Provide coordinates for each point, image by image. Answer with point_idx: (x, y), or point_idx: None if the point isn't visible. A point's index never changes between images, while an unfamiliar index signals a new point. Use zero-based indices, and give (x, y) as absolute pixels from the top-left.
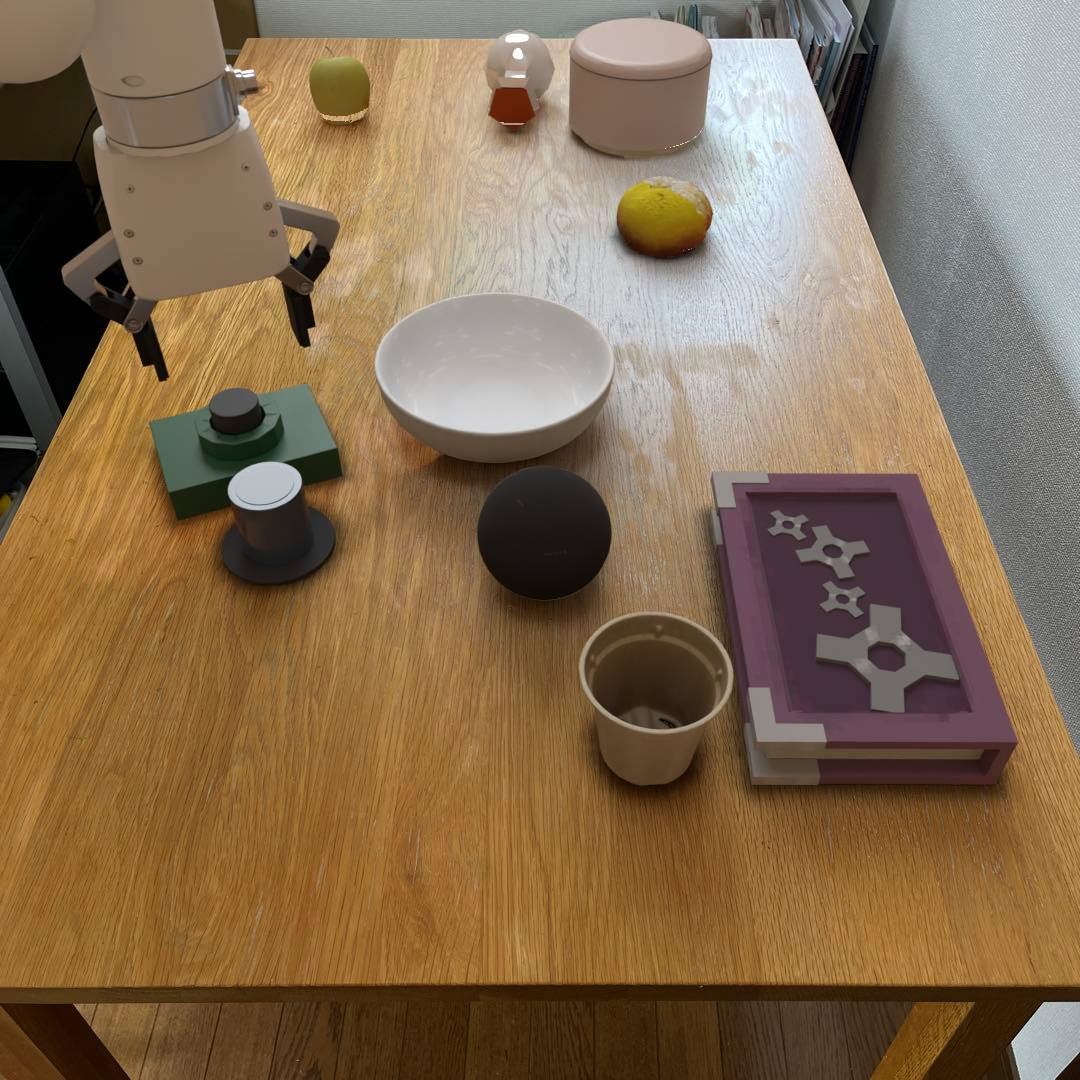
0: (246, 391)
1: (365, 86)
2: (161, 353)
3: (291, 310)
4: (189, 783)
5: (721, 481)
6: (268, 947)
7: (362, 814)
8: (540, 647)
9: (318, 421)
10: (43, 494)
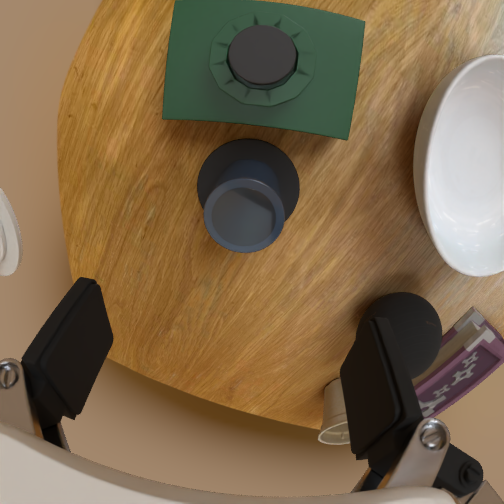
0: (286, 41)
1: None
2: (94, 379)
3: (357, 415)
4: (151, 326)
5: (482, 336)
6: (175, 382)
7: (222, 368)
8: (348, 341)
9: (349, 88)
10: (85, 42)
